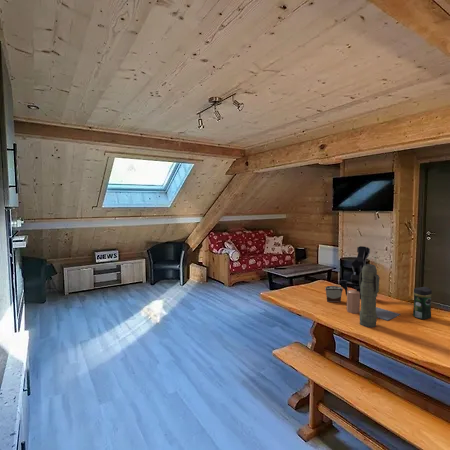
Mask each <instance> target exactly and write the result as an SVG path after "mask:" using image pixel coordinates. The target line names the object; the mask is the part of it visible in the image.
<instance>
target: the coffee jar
mask: <svg viewBox="0 0 450 450" xmlns="http://www.w3.org/2000/svg"><path fill="white" fill-rule="evenodd" d="M432 295H433V292H432V289H431V288H430V287H428V286H422V287H415V288H413V296H414V299H413V300H414V301H413V309H412V316H413V317H415V318H416V319H419V320H428V319H431V318H432V307H431V306H432Z"/></svg>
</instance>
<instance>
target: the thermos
mask: <svg viewBox="0 0 450 450" xmlns="http://www.w3.org/2000/svg"><path fill="white" fill-rule="evenodd" d="M377 272H378V271H377V267H376V265H375V264H372V263H366V264H365V265H364V266H363V268H362V271H361V272H360V280H359V286H360V294H361V299H360V313H359V325H360V326H362V327H365V328H376V327H377V320H378V318H377V314H376V307H377V298H378V293H379V292H380V275H379V274H378V273H377Z"/></svg>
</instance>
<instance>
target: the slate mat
mask: <svg viewBox="0 0 450 450" xmlns="http://www.w3.org/2000/svg"><path fill="white" fill-rule="evenodd" d="M376 314H377V319H380V320H382V321H386V322H388V321H391V320H392V319H395V318H398V317H400V316H401V313H398V312H395V311H391V310H388V309H385V308H380V307H377V306H376ZM399 315H400V316H399ZM397 316H398V317H397Z"/></svg>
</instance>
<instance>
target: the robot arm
mask: <svg viewBox="0 0 450 450" xmlns="http://www.w3.org/2000/svg"><path fill="white" fill-rule="evenodd" d="M356 252H357V257H356V258H354V260H353V262H351V268H352V274H350V282H348V280H345V279H341V280H340V282H339V285H340V287H341V288H342V289H343V290H344V291H345V296H346V297H347V292H348V288H349V287H353V290H356V291H359V292H360V286H359V280H360V272H361V271H362V268H363V266H364V265H365V264H367V263H366V261H367V259H368V258H369V256H370V253H371V248H369V247H368V246H361V245H360V246H357V249H356ZM360 300H361V294H360Z"/></svg>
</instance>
